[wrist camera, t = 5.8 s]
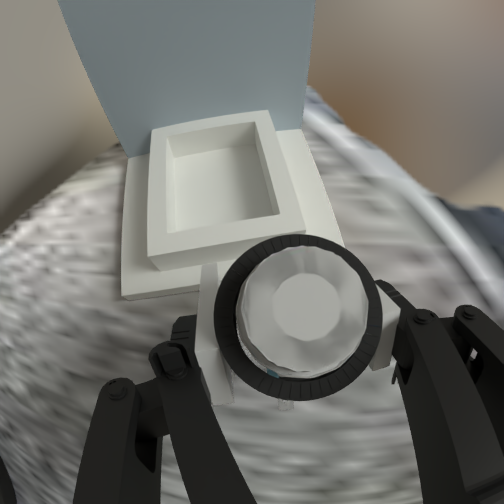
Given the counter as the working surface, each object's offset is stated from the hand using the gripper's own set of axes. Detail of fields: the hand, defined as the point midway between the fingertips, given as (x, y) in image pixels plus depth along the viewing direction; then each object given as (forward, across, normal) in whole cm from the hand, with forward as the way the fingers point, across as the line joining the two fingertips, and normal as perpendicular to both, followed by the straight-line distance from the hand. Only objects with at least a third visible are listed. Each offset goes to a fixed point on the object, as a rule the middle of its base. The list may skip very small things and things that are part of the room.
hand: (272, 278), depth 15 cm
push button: (0, 0, -5) cm, 5 cm away
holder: (+13, -2, +2) cm, 13 cm away
